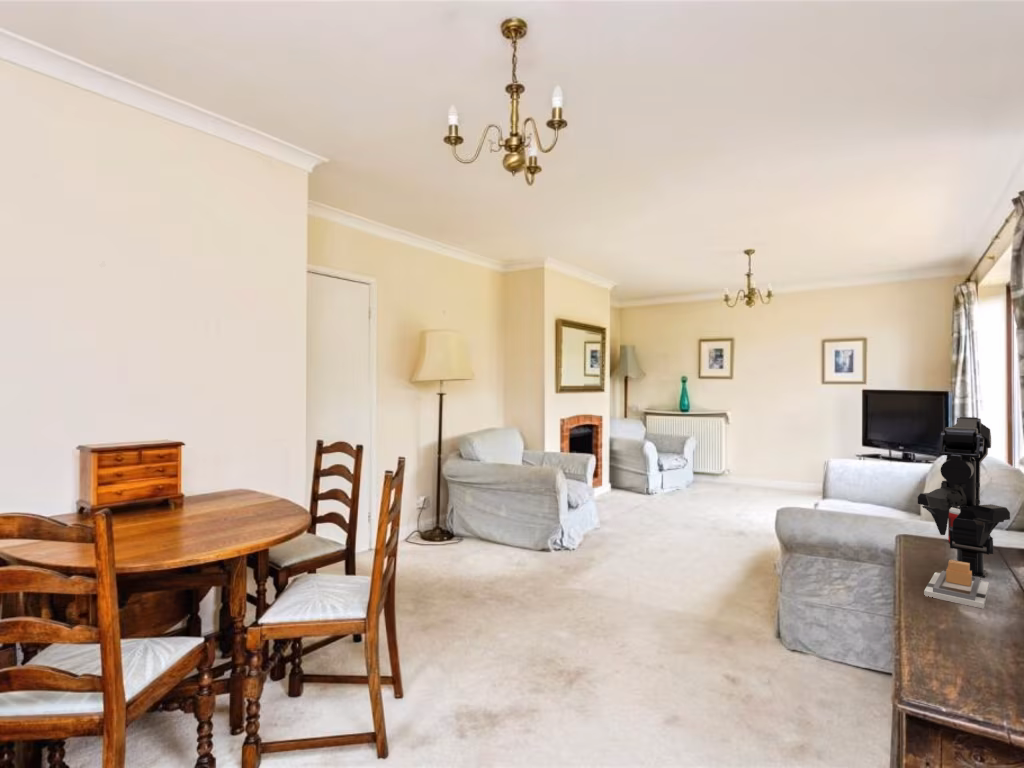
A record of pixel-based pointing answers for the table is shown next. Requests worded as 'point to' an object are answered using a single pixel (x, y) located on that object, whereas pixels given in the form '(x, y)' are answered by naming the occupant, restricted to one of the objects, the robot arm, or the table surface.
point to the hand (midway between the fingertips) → (960, 540)
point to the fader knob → (959, 573)
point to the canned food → (952, 519)
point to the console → (958, 590)
